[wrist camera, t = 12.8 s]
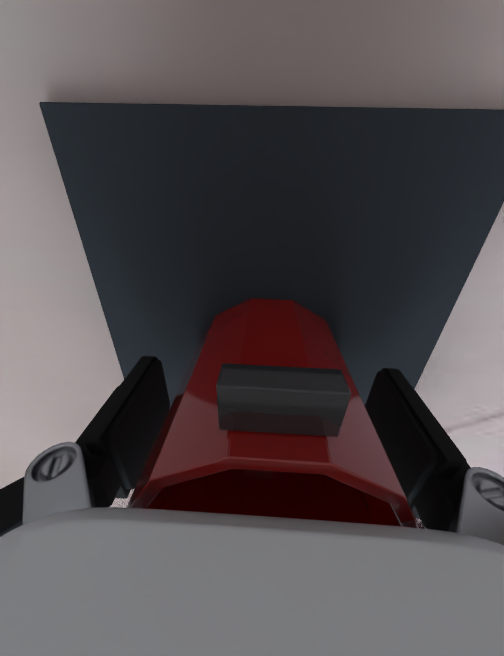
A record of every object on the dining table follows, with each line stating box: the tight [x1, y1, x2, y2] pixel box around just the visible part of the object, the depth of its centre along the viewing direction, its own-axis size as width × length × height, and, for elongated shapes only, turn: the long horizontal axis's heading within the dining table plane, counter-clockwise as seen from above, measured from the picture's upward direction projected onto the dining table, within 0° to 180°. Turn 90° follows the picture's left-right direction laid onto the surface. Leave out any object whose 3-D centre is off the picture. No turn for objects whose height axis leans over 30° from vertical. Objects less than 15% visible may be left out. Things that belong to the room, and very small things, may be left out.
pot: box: [127, 298, 420, 528], centre depth 9 cm, size 9×7×8 cm
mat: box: [39, 102, 504, 408], centre depth 13 cm, size 20×16×1 cm
